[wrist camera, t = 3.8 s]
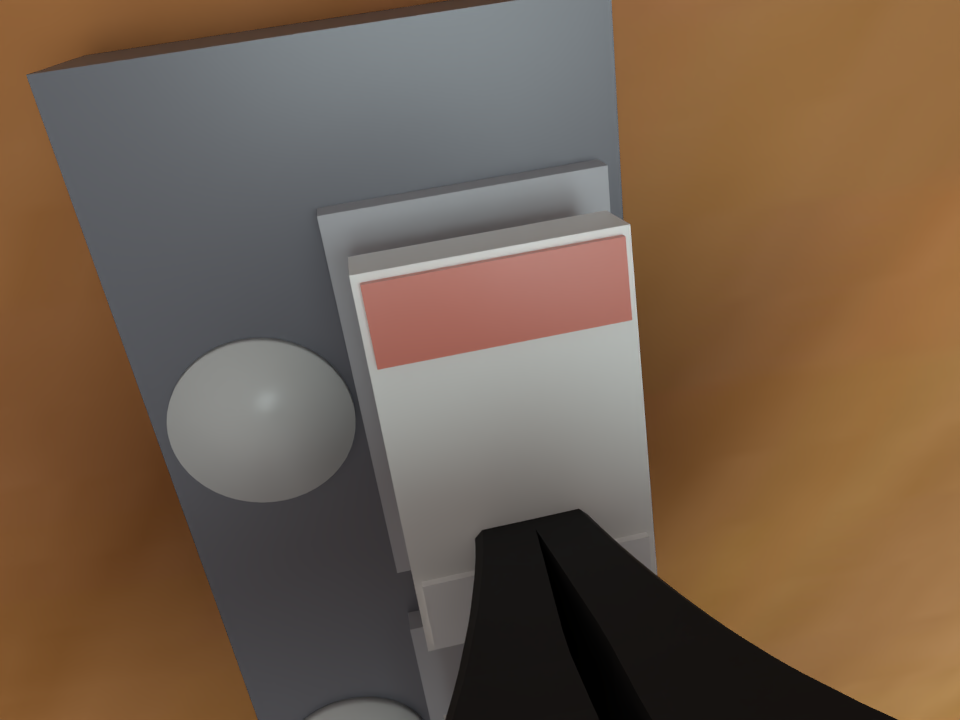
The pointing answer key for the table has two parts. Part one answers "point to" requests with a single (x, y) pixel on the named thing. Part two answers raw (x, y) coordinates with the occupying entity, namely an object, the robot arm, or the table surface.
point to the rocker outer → (506, 393)
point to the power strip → (315, 288)
